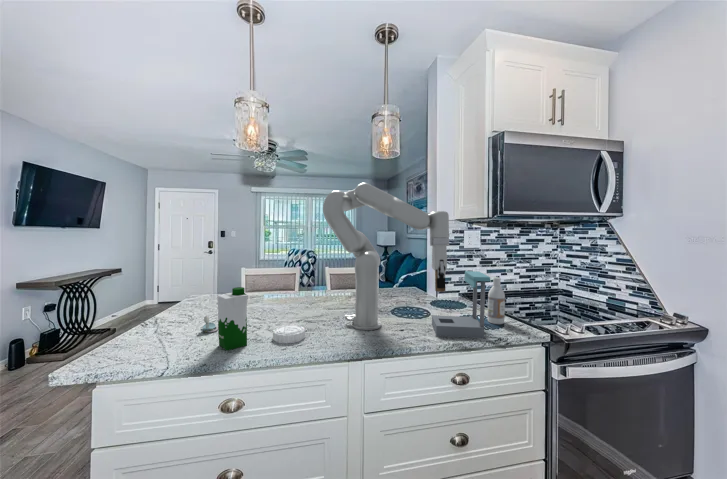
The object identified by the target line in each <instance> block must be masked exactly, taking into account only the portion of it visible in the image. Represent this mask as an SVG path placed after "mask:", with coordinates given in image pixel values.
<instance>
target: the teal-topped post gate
mask: <svg viewBox="0 0 727 479" xmlns="http://www.w3.org/2000/svg"><path fill="white" fill-rule="evenodd" d="M464 281H465V283H468V285H470V286H471V287H472V316H471V317H472V318H474V319H478V318H477V316H478V315H477V310H478V309H477V306H478V282H480V302H479V304H480V305H479V322H480V327H484V328H485V309H486V308H485V306H486V282H491V277H490V276H489V275H486V274H485V273H483V272H482V271H471V270H465V271H464Z"/></svg>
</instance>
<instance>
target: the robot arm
mask: <svg viewBox="0 0 727 479" xmlns="http://www.w3.org/2000/svg"><path fill="white" fill-rule="evenodd" d="M365 206H366V207H369V208H371V209H373V210H375V211H377V212H378V213H381V214H382V215H385V216H386V217H390V218H393V219H394V220H397V221H399V222H401V223H403V224H404V225H407V226H409V227H411V228H412V229H414V230H416V231H423V230H428V229H429V245H430V247H432V248H431V268H432V269H433V271H434V272H435V271H436V270H437V276H438V278H437V288H445V289H446V271H447V269H448V257H447V256H448V255H447V254H448V253H447V252H448V250H447V246H450V222H449V220H450V218H449V216H450V215H449V213H448V212H447V211H444V210H443V211H442V210H441V211H431V212H426V211H423V210H422V209H420V208H418V207H416V206H414V205H412V204H409V203H407V202H405V201H404V200H401V199H400V198H398V197H396V196H394V195H392V194H391V193H388V192H386V191H385V190H382V189H380V188H378V187H377V186H374V185H373V184H372V185H371V184H370V183H367V182H361V183H359V184H357V186H356V187H355V188H354V189H352V190H351V189H350V190H348V191H342V190H333V191H331V192H329V193H328V194H327V195H326V197H325V198H324V200H323V205H322V212H323V213H322V214H323V216H324V219H325V221H326V222H327V224H328V226H329V227H330V229H331V230H332V232H333V233H334V235H335V236H336V238H337V240H338V241H339V243H340V244H341V246H342V247H343V249H344V250H345V251H347V252H348V253H350V254H351V253H352V254H353V256H354V257H355V261H354V275H355V313H354V314H352V315H350V314H345V318H344V319H345V320H346V321H347V322H351V321H352V322H351V326H352V327H353V328H354V329H356V330H362V331H375V330H377V329H380V328H381V327H382V322H381V321H380V320H379V308H378V307H379V271H378V270H379V267H380V264H381V257H380V254H379V253H378V251H377V250H376V249H375V247H374V246H373V244H372V242H371V241H370V239H369V238H368V237H367V236H366V235H365V233H364V232H362V231H360V230H357V229H356V228H355V226H354V224H352V222H351V220H350V219H349V217H348V216H347V215H346V213H345V212H349V211H352V210H355V209H358V208H362V207H365ZM444 266H445V268H444ZM439 269H440V270H439Z"/></svg>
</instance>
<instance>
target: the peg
mask: <svg viewBox="0 0 727 479" xmlns="http://www.w3.org/2000/svg"><path fill="white" fill-rule="evenodd" d="M444 268H445V266H444ZM439 270H440V269H439ZM437 278H438V276H437V270H436V271H435V270H434V281H435V282H434V284H435V285H434V287H435V288H434V291H435V292H437V293H439V292H440V293H443V292H446V287H445V288H437Z"/></svg>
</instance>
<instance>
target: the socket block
mask: <svg viewBox="0 0 727 479" xmlns="http://www.w3.org/2000/svg"><path fill="white" fill-rule="evenodd" d="M472 317H473V316H461V315H460V316H457V315H456V316H455V315H434V314H432V315H431V326H432V328H433V331H434V334H435V336H436V337H450V338H451V337H452V338H455V337H456V338H473V339H474V338H475V339H476V338H478V339H485V326H484V327H480V320H478V318H476V319H474V318H472Z"/></svg>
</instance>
